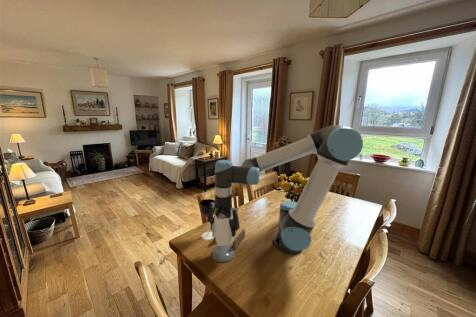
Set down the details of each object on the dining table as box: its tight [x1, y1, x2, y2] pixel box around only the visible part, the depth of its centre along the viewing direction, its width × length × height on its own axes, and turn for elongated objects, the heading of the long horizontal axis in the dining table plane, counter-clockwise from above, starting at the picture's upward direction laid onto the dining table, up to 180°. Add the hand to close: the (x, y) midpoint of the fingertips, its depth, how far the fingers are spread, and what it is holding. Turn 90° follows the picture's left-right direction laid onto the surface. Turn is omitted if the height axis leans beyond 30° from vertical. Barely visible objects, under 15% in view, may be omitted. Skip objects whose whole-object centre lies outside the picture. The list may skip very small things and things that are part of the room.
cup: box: [213, 213, 233, 247], centre depth 89 cm, size 7×7×15 cm
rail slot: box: [214, 228, 246, 251], centre depth 102 cm, size 12×12×4 cm
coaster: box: [211, 245, 235, 263], centre depth 92 cm, size 11×11×1 cm
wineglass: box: [199, 198, 217, 241], centre depth 104 cm, size 8×9×20 cm
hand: (222, 238), depth 90 cm, fingers closed on cup, 9 cm apart
